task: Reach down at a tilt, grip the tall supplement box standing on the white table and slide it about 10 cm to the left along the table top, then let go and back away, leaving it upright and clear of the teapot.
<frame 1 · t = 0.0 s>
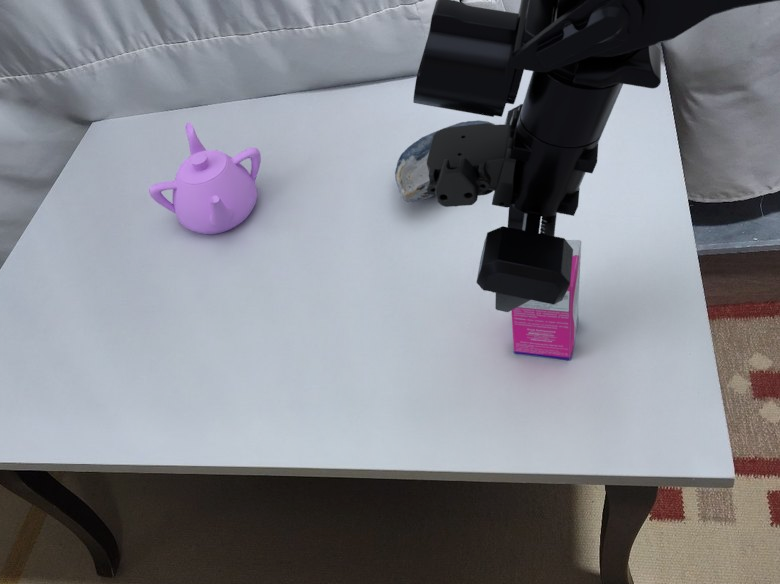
hand: (507, 268, 65), 15 cm above the table, tool pointing down, fingers open, 9 cm apart
supplement box: (545, 337, 78), on the table
teapot: (220, 211, 103), on the table
seashell: (449, 180, 96), on the table
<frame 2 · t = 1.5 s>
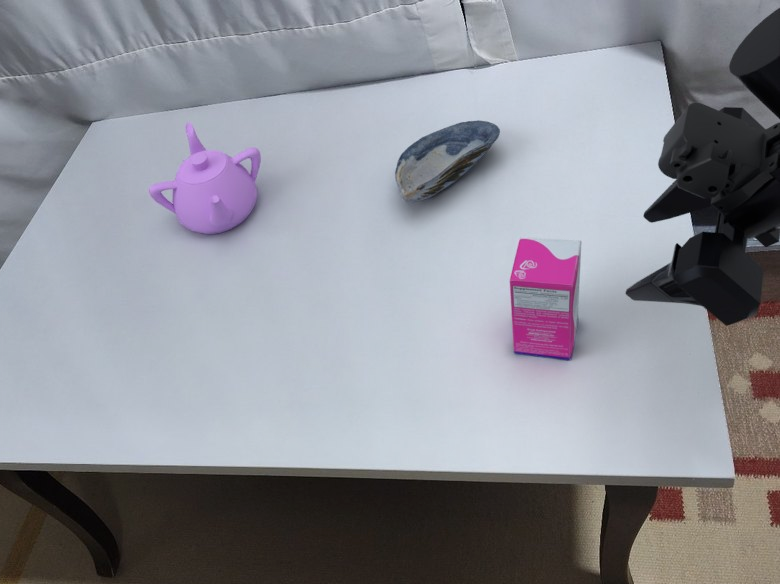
hand: (638, 255, 65), 13 cm above the table, tool tilted 45°, fingers open, 9 cm apart
nothing on the table moved.
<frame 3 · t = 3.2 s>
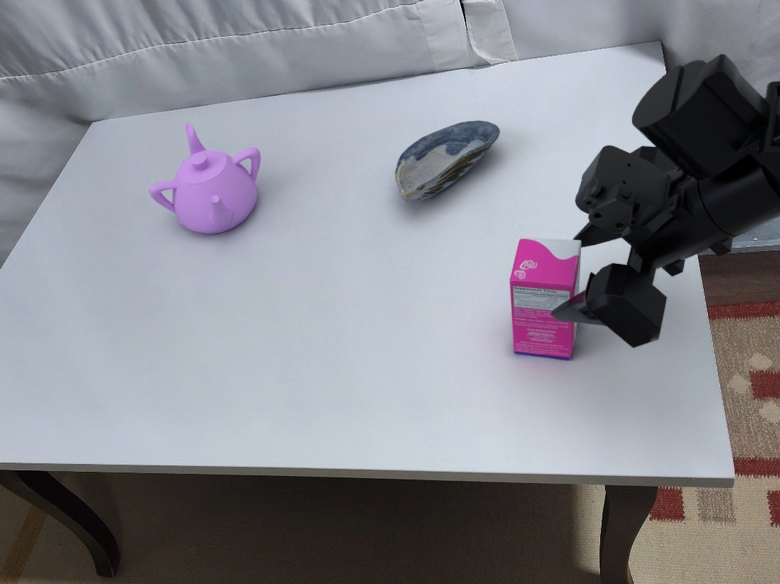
hand: (565, 278, 70), 9 cm above the table, tool tilted 45°, fingers open, 9 cm apart
nothing on the table moved.
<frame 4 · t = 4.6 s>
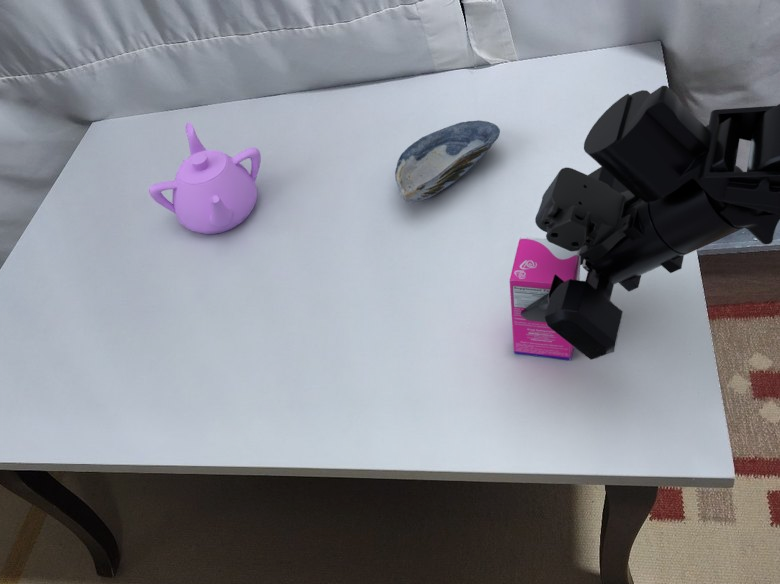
hand: (531, 292, 73), 7 cm above the table, tool tilted 45°, fingers closed on supplement box, 6 cm apart
supplement box: (545, 337, 78), on the table, touching gripper
everything else where it was.
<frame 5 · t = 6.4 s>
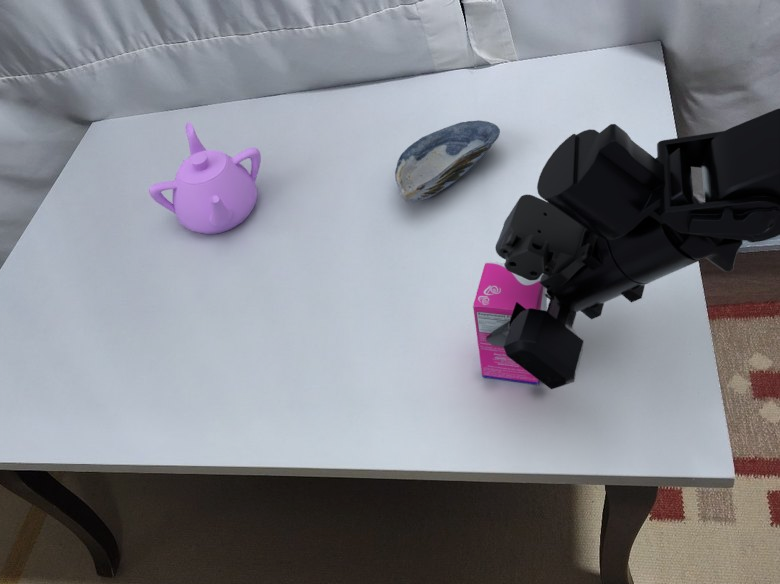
hand: (498, 316, 73), 7 cm above the table, tool tilted 45°, fingers closed on supplement box, 6 cm apart
supplement box: (514, 361, 77), on the table, touching gripper
everything else where it was.
when the fingers open (7 cm above the table, at t = 8.3 s): supplement box stays where it is, on the table.
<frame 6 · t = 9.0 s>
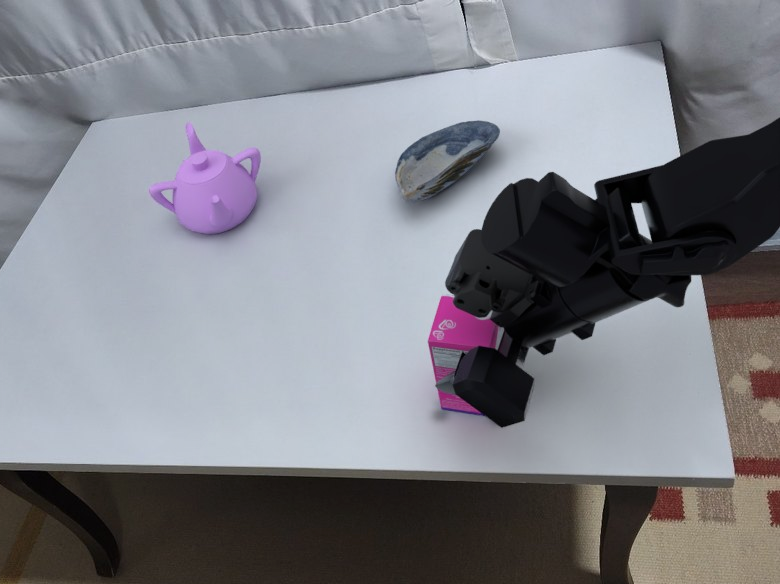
hand: (453, 348, 71), 7 cm above the table, tool tilted 45°, fingers open, 9 cm apart
supplement box: (473, 392, 76), on the table
everything else where it was.
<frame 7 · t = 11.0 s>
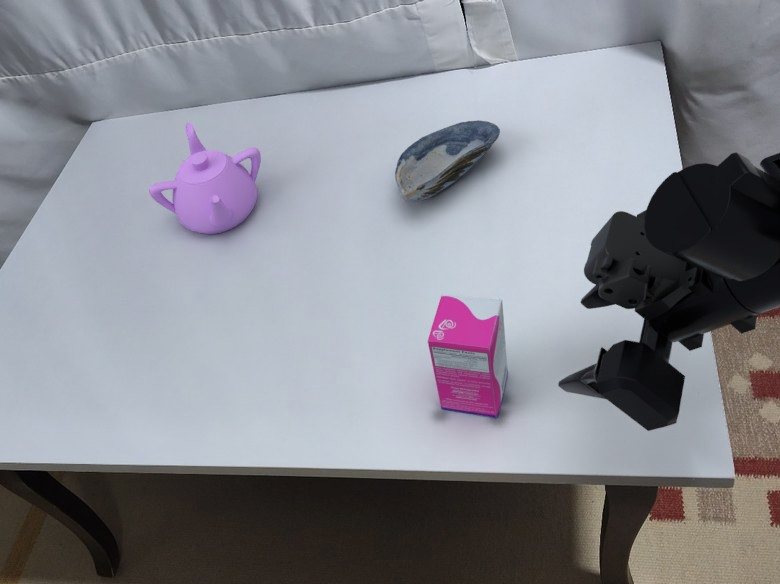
hand: (573, 344, 65), 9 cm above the table, tool tilted 45°, fingers open, 9 cm apart
nothing on the table moved.
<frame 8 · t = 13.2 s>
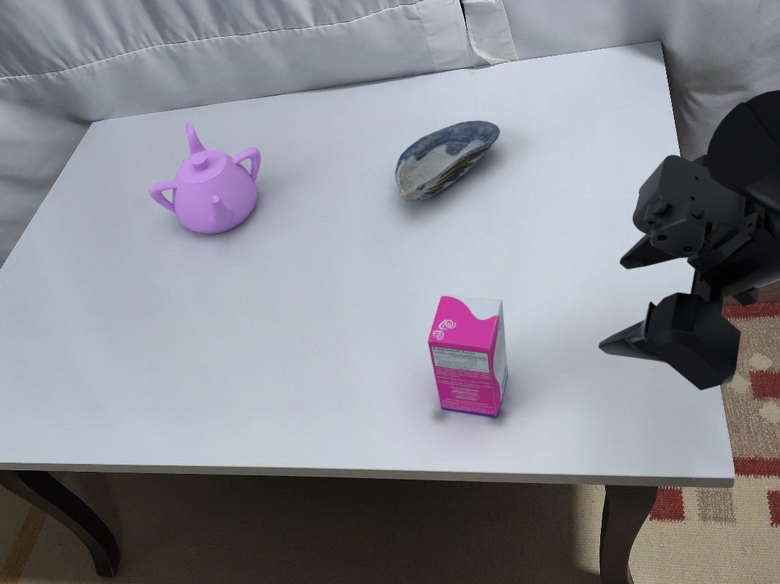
hand: (612, 305, 62), 14 cm above the table, tool tilted 45°, fingers open, 9 cm apart
nothing on the table moved.
at the end: supplement box inside the target area (0.2 cm from its centre), on the table; supplement box tilted 0°; supplement box touching table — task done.
